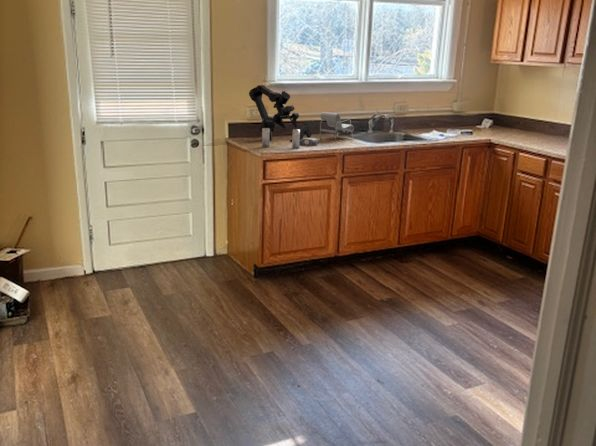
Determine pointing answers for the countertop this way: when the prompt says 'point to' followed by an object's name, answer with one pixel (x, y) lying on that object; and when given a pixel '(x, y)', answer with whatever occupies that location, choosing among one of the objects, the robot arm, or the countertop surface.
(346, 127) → the chair
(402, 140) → the countertop surface
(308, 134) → the handgun
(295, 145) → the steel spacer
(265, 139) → the spacer
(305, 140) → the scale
